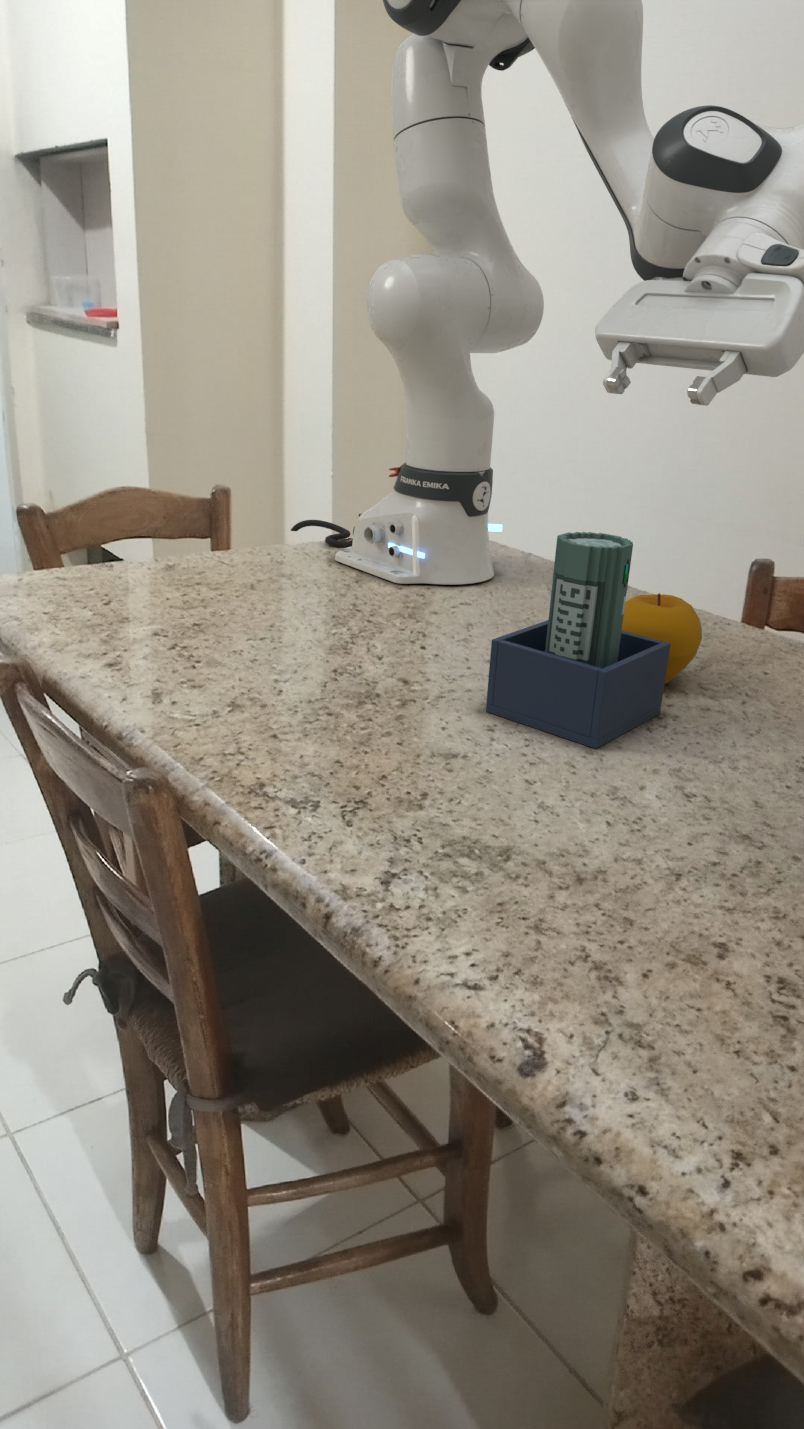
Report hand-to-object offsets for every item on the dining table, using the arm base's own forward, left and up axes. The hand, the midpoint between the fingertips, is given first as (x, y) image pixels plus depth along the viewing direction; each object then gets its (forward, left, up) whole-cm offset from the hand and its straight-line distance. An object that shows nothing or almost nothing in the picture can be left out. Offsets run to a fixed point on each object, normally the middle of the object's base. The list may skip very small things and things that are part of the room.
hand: (651, 394), depth 91 cm
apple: (+3, +2, -27) cm, 28 cm away
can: (+2, -11, -27) cm, 29 cm away
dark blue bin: (+2, -11, -27) cm, 29 cm away
